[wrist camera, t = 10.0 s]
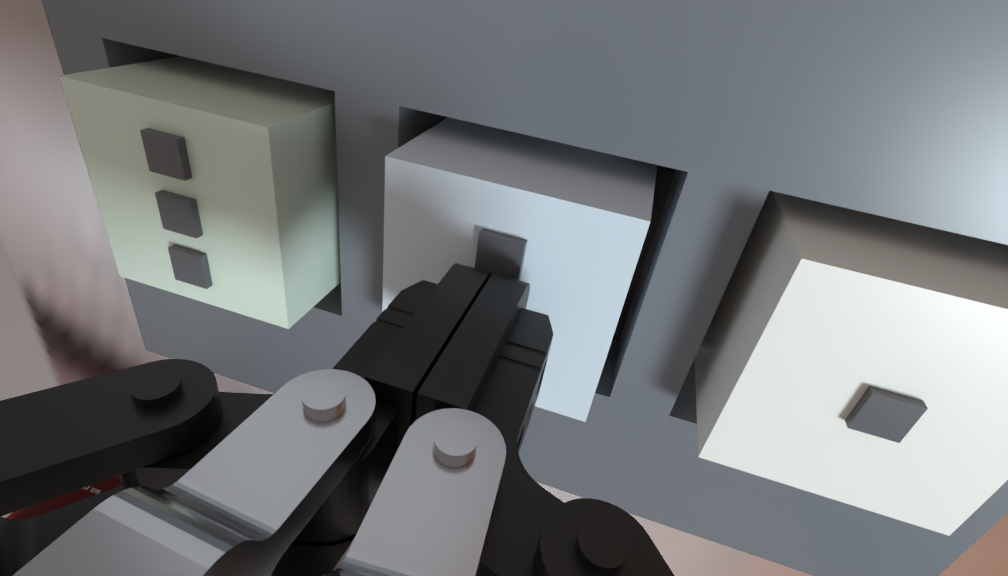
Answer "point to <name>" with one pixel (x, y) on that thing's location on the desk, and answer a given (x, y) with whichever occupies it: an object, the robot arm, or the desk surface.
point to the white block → (214, 182)
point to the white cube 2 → (523, 234)
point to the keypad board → (635, 135)
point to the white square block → (861, 363)
